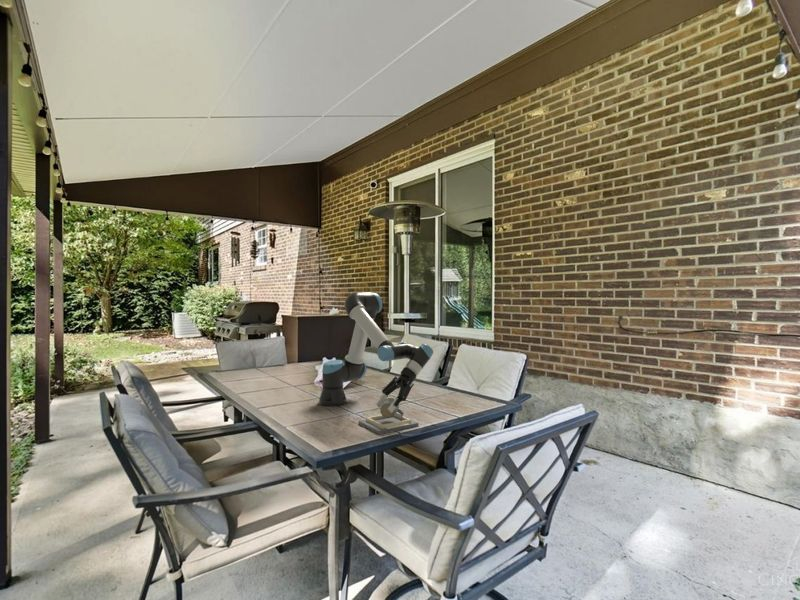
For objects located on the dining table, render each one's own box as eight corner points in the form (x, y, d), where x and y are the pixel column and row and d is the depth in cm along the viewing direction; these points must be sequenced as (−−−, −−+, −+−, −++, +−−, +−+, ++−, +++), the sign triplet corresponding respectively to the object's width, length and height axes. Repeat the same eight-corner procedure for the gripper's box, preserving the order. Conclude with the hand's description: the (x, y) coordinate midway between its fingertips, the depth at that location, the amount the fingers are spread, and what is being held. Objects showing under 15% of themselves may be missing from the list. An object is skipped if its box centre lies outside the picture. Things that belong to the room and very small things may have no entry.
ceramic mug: (379, 418, 196) (379, 401, 196) (383, 413, 204) (383, 397, 204) (401, 419, 194) (402, 403, 194) (404, 414, 202) (405, 398, 202)
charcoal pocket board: (358, 424, 201) (358, 417, 201) (396, 416, 213) (396, 410, 213) (378, 434, 186) (378, 427, 186) (418, 426, 198) (418, 419, 198)
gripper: (429, 380, 199) (401, 419, 190) (402, 372, 217) (375, 407, 208) (420, 370, 196) (392, 409, 187) (393, 363, 214) (366, 398, 205)
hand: (383, 408), depth 198 cm, fingers closed on ceramic mug, 10 cm apart
